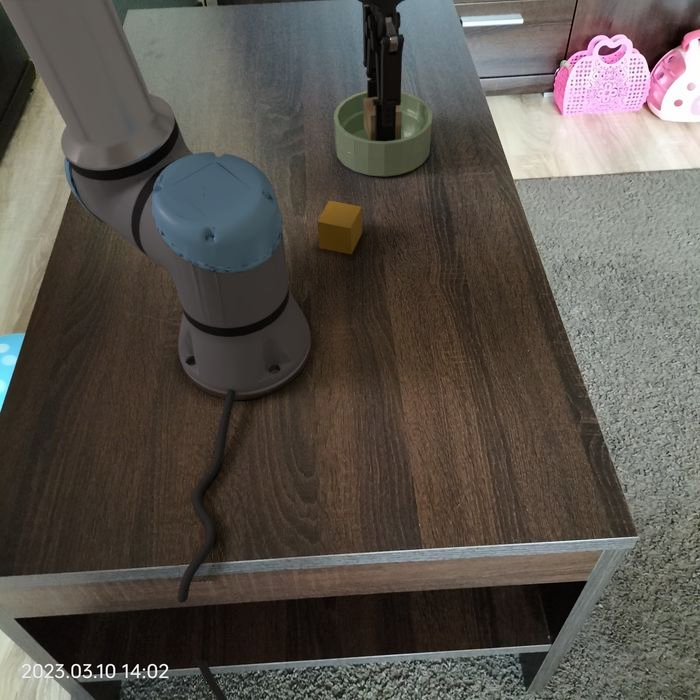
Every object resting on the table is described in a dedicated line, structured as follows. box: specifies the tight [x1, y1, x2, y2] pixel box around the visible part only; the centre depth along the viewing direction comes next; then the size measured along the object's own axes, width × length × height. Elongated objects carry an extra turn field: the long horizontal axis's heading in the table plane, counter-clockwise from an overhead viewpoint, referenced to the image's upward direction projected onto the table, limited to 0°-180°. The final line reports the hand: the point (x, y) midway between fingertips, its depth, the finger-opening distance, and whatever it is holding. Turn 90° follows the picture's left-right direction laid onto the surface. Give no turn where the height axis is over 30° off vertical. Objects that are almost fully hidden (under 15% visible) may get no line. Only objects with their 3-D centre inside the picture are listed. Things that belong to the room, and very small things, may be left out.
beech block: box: [363, 97, 402, 141], centre depth 103 cm, size 4×4×4 cm
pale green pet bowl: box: [333, 90, 434, 177], centre depth 108 cm, size 14×14×6 cm
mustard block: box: [316, 200, 363, 256], centre depth 95 cm, size 4×4×4 cm
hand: (381, 131), depth 105 cm, fingers closed on beech block, 4 cm apart
